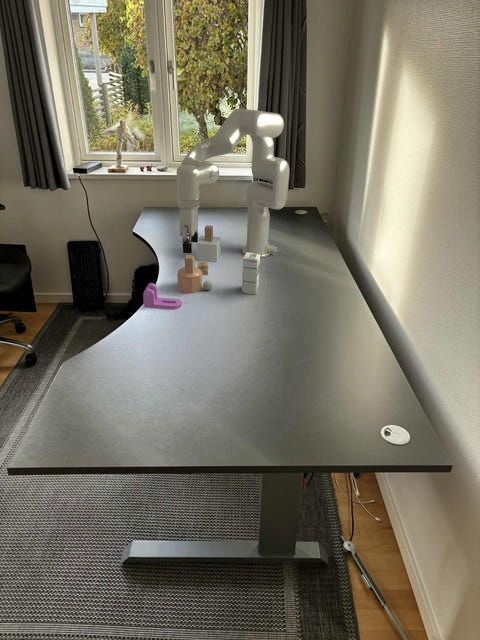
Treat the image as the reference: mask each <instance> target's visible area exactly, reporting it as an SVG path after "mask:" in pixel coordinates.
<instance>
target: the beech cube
mask: <svg viewBox="0 0 480 640" xmlns="http://www.w3.org/2000/svg"><path fill="white" fill-rule="evenodd" d="M197 268H199V269H201V271H202V276H208V275H209V263H208V261H198V262H197Z"/></svg>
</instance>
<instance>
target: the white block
mask: <svg viewBox="0 0 480 640" xmlns="http://www.w3.org/2000/svg"><path fill="white" fill-rule="evenodd" d="M221 242H222V241H221V236H220V237H218V236H214V226H213V225H208V224H207V225H205V226H204V235H200V236H199V237H198V242H197V243H196V244H195V245H196V261H199V262H213V263H217V262H218V260H219V258H220V257H221V245H222V244H221Z"/></svg>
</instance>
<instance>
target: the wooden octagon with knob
mask: <svg viewBox="0 0 480 640" xmlns="http://www.w3.org/2000/svg"><path fill="white" fill-rule="evenodd" d="M195 261H196V260H195V255H189V254H186V256H185V257H184V267H181V268H179V269H178V270H177V275H176V276H177V289H178V290H179V291H181V292H182V293H186V294H187V293H188V294H194V293H197V292H200V291H201V290H202V288H203V275H202V271H201V269H199V268H198V267H196V265H195Z"/></svg>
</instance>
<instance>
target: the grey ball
mask: <svg viewBox="0 0 480 640" xmlns="http://www.w3.org/2000/svg"><path fill="white" fill-rule="evenodd" d="M202 288H203V289H204V290H205V291H210V290H212V288H213V283H212V282H211V280H205V281H204V282H202Z"/></svg>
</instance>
